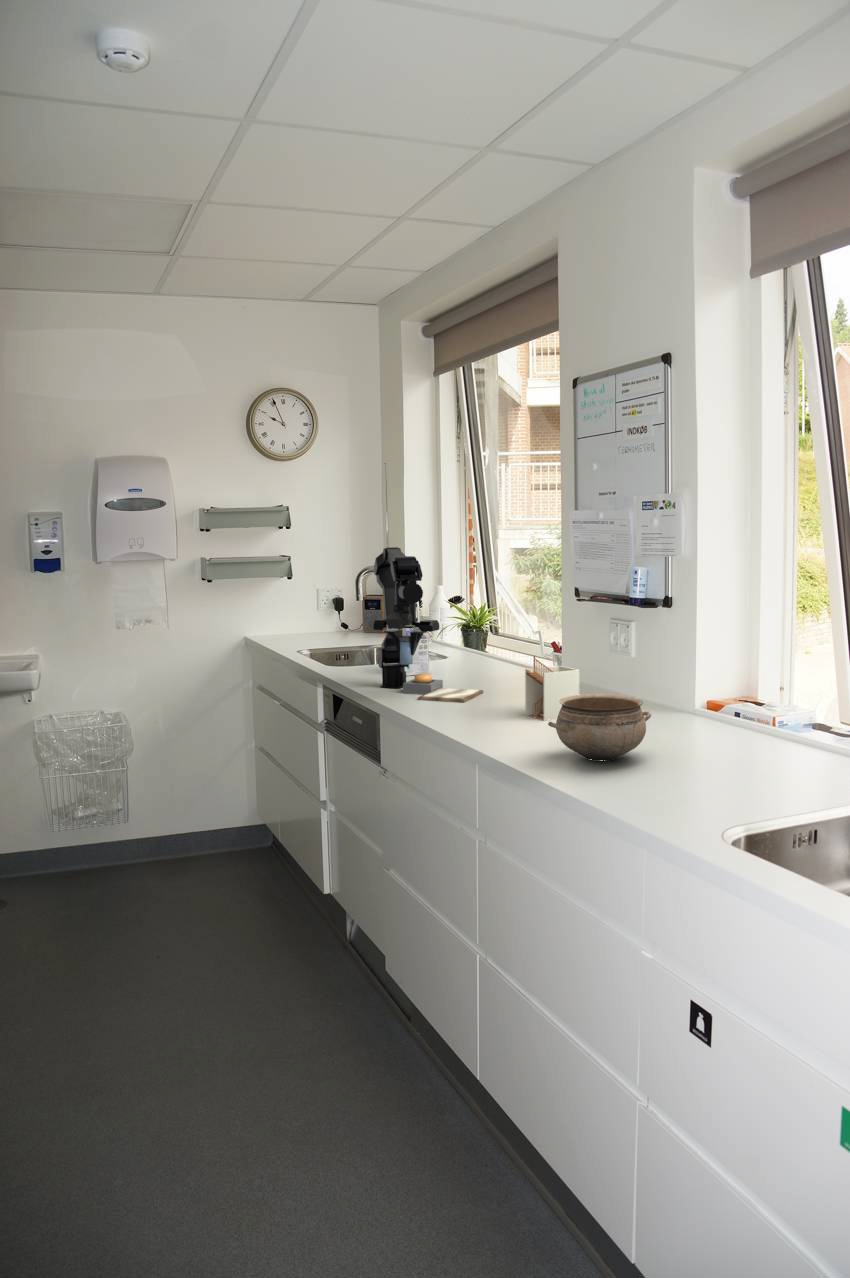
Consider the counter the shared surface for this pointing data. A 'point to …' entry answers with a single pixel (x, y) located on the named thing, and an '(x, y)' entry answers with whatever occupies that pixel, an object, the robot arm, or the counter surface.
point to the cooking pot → (601, 725)
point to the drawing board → (451, 695)
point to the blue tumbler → (405, 650)
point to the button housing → (421, 686)
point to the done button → (422, 678)
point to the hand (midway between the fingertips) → (406, 654)
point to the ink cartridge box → (419, 658)
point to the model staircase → (548, 689)
